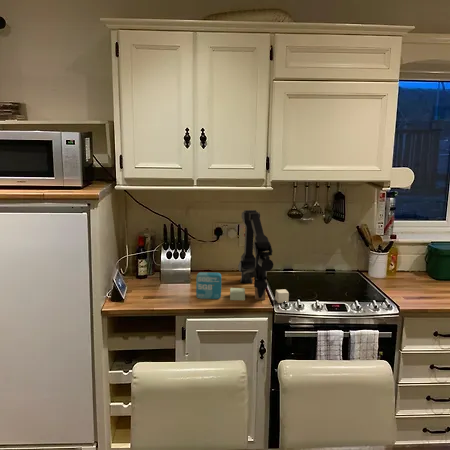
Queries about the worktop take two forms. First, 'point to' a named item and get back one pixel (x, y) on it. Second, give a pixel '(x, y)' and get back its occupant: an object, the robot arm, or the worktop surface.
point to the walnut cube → (258, 295)
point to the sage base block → (237, 294)
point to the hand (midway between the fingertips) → (259, 295)
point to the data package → (208, 285)
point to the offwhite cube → (282, 296)
